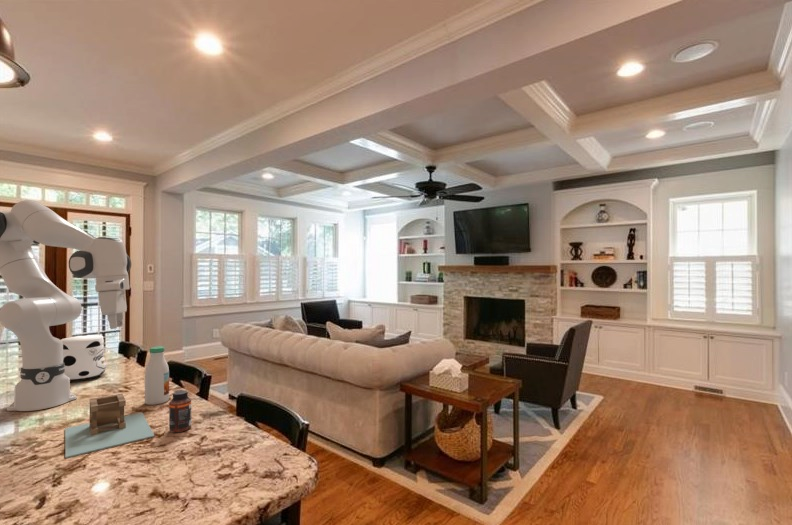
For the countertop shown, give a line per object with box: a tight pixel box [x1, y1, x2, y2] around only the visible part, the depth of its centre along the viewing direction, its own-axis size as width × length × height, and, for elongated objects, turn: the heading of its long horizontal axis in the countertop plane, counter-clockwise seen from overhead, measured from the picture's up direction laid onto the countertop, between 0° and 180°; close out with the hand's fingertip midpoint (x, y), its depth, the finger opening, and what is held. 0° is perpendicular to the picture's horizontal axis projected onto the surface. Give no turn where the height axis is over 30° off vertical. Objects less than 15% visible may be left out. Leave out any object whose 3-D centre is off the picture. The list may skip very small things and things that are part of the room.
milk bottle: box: [144, 346, 170, 406], centre depth 146 cm, size 8×8×20 cm
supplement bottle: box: [168, 389, 192, 433], centre depth 121 cm, size 6×6×11 cm
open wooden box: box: [89, 393, 127, 436], centre depth 122 cm, size 9×8×8 cm
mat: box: [64, 412, 156, 459], centre depth 118 cm, size 24×20×1 cm
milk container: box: [60, 334, 107, 382], centre depth 177 cm, size 17×17×18 cm
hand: (116, 327), depth 130 cm, fingers open, 8 cm apart
